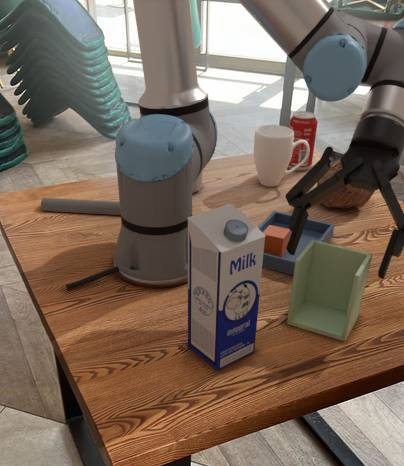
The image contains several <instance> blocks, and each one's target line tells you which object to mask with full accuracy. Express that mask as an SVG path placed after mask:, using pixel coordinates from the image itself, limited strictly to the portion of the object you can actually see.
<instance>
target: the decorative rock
mask: <svg viewBox="0 0 404 466" xmlns="http://www.w3.org/2000/svg"><path fill="white" fill-rule="evenodd" d="M342 168H343V167H342V163H337V164H336V165H335V166H334V167H330V169H329V170H328V172H327V173H326V174H325V175H324V176H323V177H322V178H321V179H320V180H319V181H318V182H317V183H316V187H317V186H319V185H320V184H322V183H323V182H325V181H326V180H328V179H329V178H331V177H332V176H334V174H335V173H336V172H337V171H339V170H340V169H342ZM375 192H376V190H375V191H373V192H370V191H367V190H365V189H356V188H352V186H351V185H347V186H346V187H344V188H343V189H339V190H337V191H336V192H334V193H332V194H331V195H329V196H328V197H326V198H325V199H323V200H322V201H320V202H321V203H322V205H323V206H325V207H326V208H339V209H342V210H344V209H350V208H352V207H354V208H357V209H360V208H363V207H364V206H365V205H366V204H367V203H368V202H369V200H370V199H371V198H372V196H373V195H374V194H375Z"/></svg>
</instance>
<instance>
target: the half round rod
mask: <svg viewBox="0 0 404 466" xmlns="http://www.w3.org/2000/svg"><path fill="white" fill-rule="evenodd" d="M40 207H41V209H42V210H43V211H45V212H58V213H76V214H77V213H79V214H94V215H109V216H110V215H111V216H112V215H113V216H121V212H120V201H111V200H93V199H76V198H58V197H57V198H56V197H42V198H41V201H40Z"/></svg>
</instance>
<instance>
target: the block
mask: <svg viewBox="0 0 404 466" xmlns="http://www.w3.org/2000/svg"><path fill="white" fill-rule="evenodd" d="M263 233H264V234H265V235H266V236H265V241H264V252H263V253H267V254H271V255H274V256H278V257H283V256H284V254H285V253H286V252H287V249H286V247H287V245H288V242H289V238H290V229H286V228H282V227H277V226H272V225H269V226H268V227H267V228H266V230H265V231H264V232H263Z"/></svg>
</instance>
